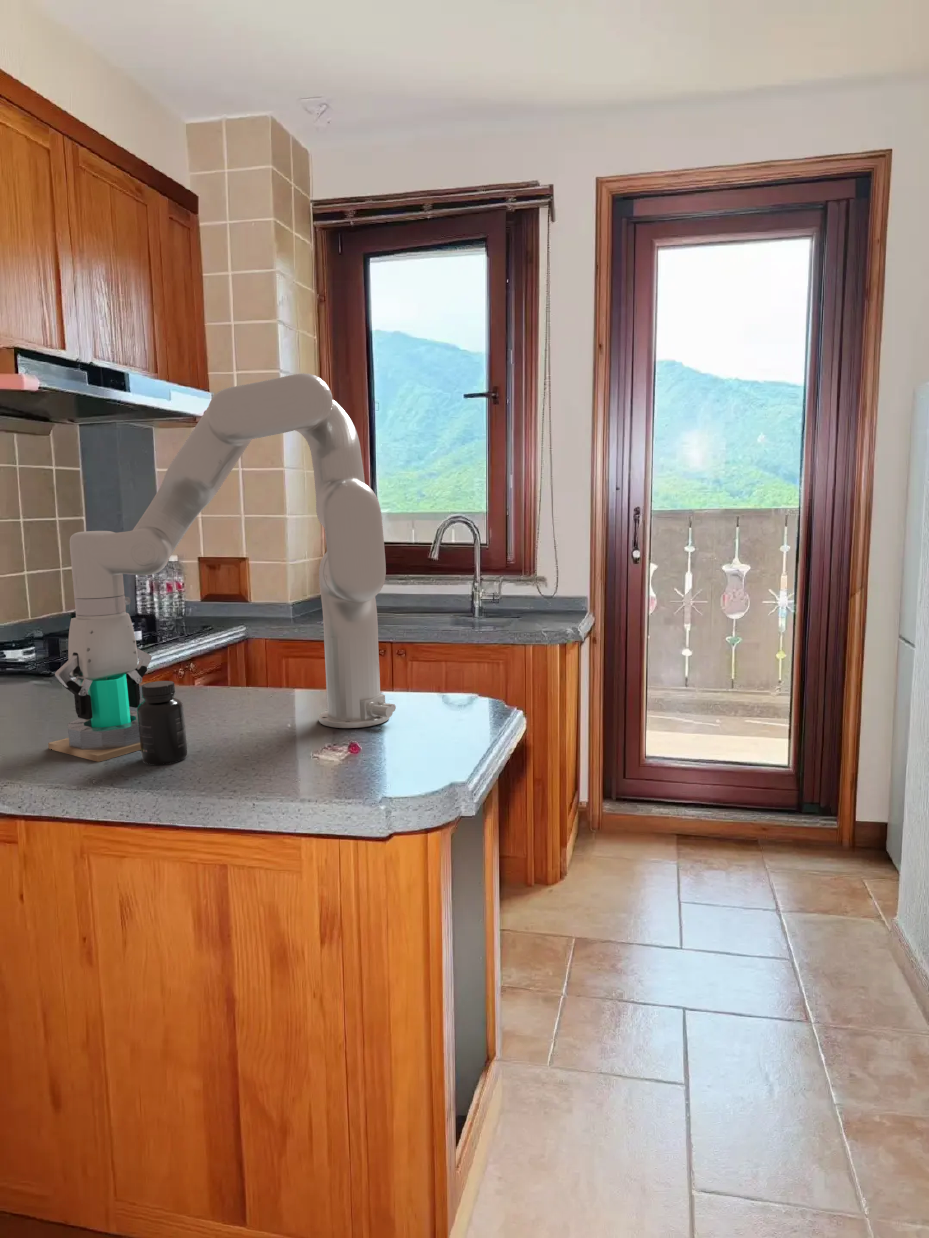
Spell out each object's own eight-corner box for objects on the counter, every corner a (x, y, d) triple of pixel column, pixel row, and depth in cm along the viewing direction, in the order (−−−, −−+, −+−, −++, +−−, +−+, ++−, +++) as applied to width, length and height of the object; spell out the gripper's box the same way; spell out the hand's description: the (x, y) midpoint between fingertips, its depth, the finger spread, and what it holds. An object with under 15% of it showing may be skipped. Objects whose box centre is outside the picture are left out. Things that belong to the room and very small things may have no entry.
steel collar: (168, 734, 147) (167, 712, 146) (99, 754, 136) (97, 730, 136) (122, 724, 154) (121, 703, 154) (53, 742, 144) (51, 719, 143)
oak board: (174, 739, 147) (173, 734, 147) (98, 761, 136) (98, 755, 136) (124, 728, 155) (123, 723, 155) (48, 748, 144) (48, 742, 144)
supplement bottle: (171, 750, 141) (166, 677, 139) (196, 757, 137) (191, 682, 135) (132, 760, 136) (126, 685, 134) (156, 768, 132) (150, 690, 130)
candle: (131, 731, 149) (124, 662, 147) (132, 740, 144) (125, 668, 142) (93, 736, 147) (86, 666, 145) (92, 745, 141) (84, 672, 140)
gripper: (133, 600, 151) (141, 698, 154) (36, 613, 137) (46, 721, 140) (160, 602, 147) (168, 703, 150) (63, 615, 133) (73, 727, 135)
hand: (109, 711), depth 145 cm, fingers open, 8 cm apart
